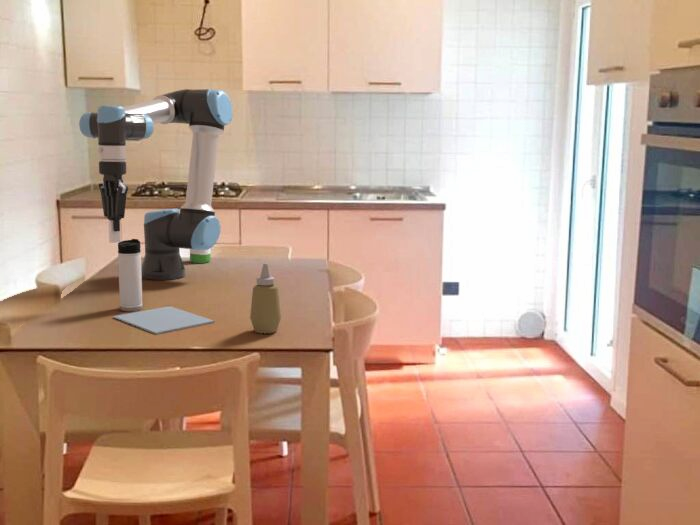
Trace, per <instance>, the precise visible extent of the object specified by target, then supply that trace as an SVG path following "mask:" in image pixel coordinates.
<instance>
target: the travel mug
mask: <svg viewBox="0 0 700 525" xmlns="http://www.w3.org/2000/svg"><path fill="white" fill-rule="evenodd" d="M117 249H118V250H117V254H118V255H117V261H118V262H117V263H118V264H117V265H118V287H119V288H118V289H119V294H118V295H119V310H121V311H122V312H129V313H130V312H139V311H142V310H143V280H142V279H143V278H142V275H141V267H142V255H141V254H142V251H141V241H140V240H139V239H138V238H132V239H126V240H122V241H121V240H120V242H117Z"/></svg>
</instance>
